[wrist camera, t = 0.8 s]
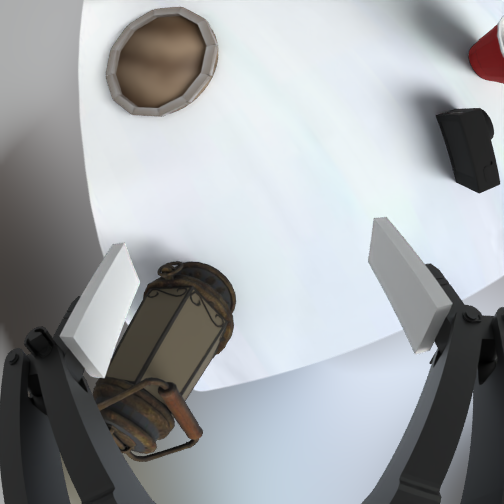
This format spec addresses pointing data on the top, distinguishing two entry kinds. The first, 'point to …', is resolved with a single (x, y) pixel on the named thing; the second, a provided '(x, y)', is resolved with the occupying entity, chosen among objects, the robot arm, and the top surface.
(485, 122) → the digital camera
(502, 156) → the top surface
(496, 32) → the plastic cup
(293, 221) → the top surface
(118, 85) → the carrier plate
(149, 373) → the lantern
